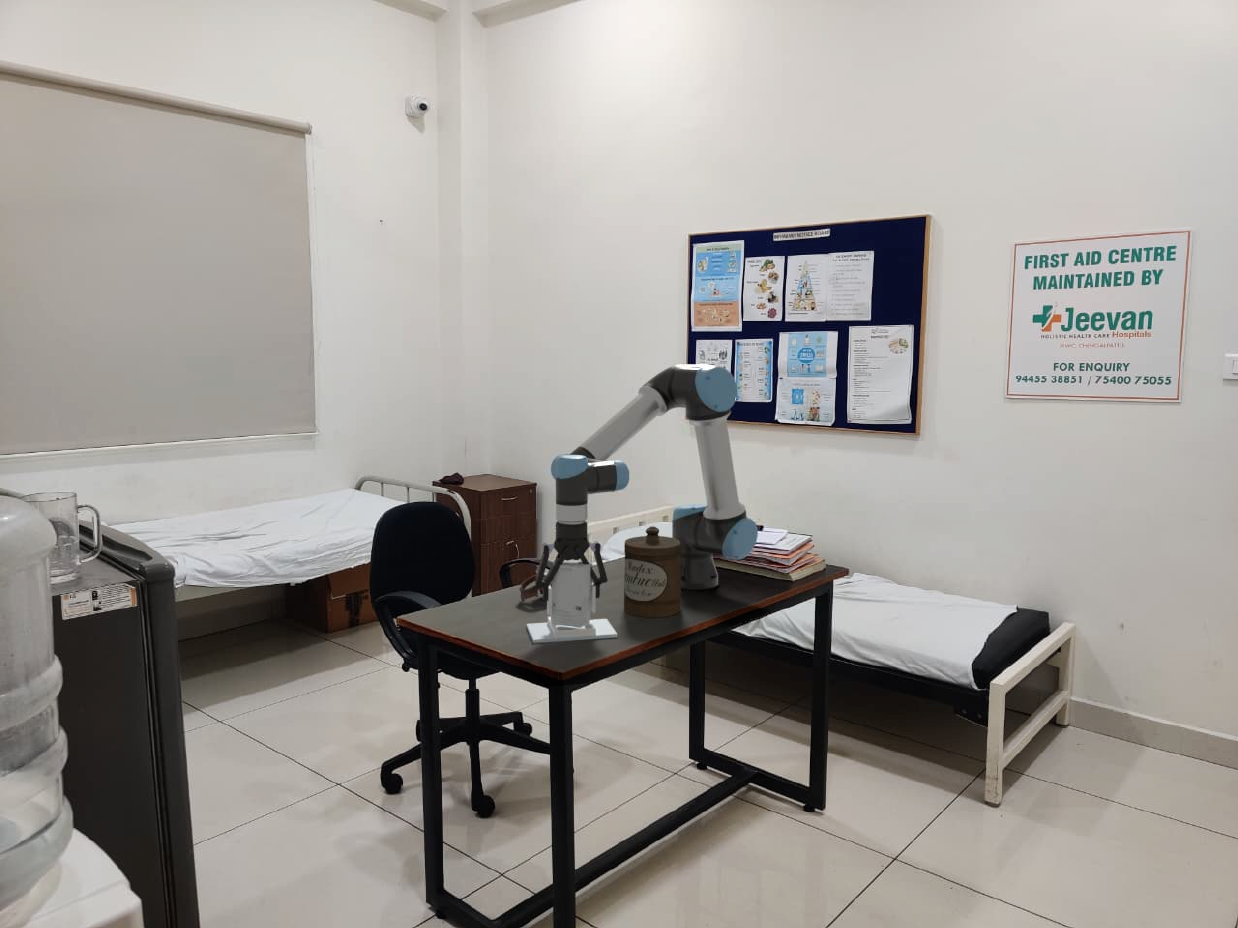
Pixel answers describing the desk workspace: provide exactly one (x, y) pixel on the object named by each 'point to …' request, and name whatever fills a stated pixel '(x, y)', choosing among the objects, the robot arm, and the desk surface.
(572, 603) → the skincare box
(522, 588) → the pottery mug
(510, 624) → the desk surface
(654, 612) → the wooden container
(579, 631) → the white box stand
